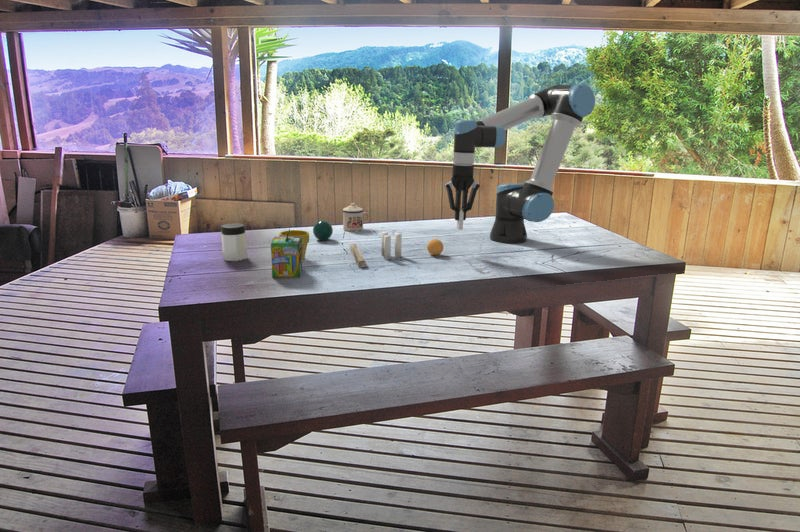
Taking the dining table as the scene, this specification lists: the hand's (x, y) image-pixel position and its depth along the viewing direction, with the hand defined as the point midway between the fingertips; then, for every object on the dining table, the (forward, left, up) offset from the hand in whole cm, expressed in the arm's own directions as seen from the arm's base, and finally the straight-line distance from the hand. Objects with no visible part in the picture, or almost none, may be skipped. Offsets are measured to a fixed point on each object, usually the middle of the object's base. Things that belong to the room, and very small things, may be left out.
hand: (459, 228), depth 210 cm
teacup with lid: (+32, -48, -10) cm, 59 cm away
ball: (+9, 0, -7) cm, 11 cm away
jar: (+81, -7, -10) cm, 82 cm away
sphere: (+48, -30, -10) cm, 58 cm away
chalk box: (+63, +15, -10) cm, 66 cm away
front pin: (+23, 0, -10) cm, 25 cm away
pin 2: (+28, +2, -10) cm, 29 cm away
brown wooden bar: (+38, 0, -10) cm, 39 cm away
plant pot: (+60, -2, -10) cm, 61 cm away
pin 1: (+28, -3, -10) cm, 29 cm away
